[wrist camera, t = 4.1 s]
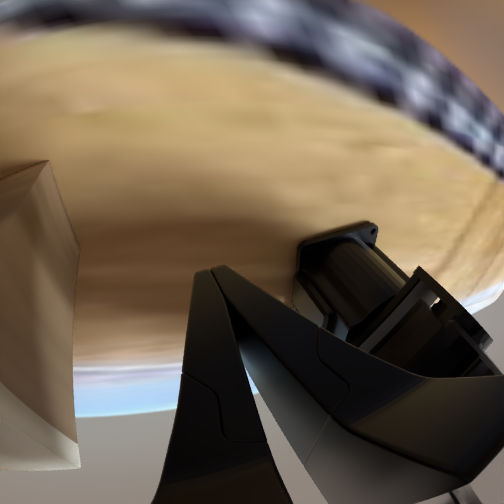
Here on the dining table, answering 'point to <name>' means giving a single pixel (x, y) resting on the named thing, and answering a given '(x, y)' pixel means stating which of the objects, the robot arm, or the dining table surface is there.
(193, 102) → the dining table surface
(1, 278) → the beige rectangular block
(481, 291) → the dining table surface
